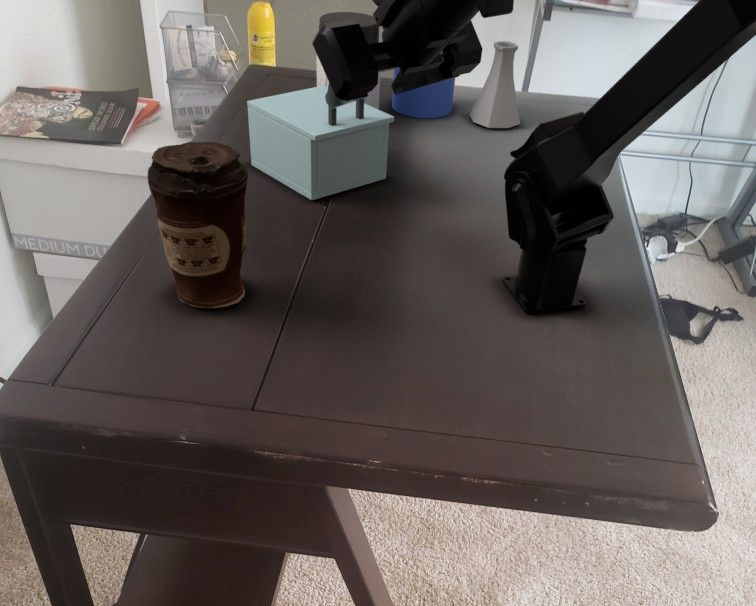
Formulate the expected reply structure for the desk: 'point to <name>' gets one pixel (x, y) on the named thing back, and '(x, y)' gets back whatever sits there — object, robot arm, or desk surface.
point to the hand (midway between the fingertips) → (362, 97)
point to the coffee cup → (201, 219)
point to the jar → (371, 36)
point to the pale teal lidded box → (317, 157)
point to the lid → (319, 113)
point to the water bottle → (425, 100)
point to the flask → (498, 91)
